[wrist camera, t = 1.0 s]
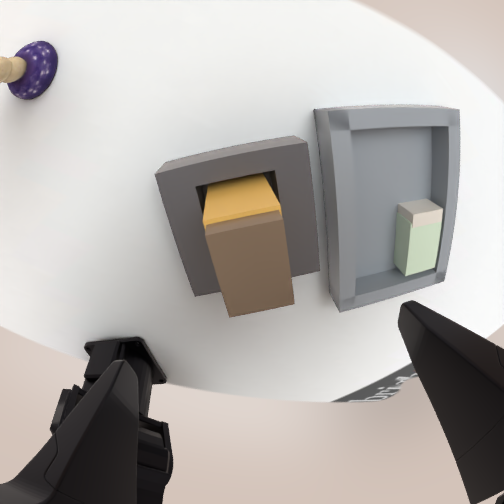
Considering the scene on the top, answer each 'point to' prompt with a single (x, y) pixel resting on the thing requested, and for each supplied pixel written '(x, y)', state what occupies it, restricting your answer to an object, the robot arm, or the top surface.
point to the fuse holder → (231, 166)
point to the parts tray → (384, 192)
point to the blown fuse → (248, 244)
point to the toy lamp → (29, 69)
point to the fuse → (417, 236)
